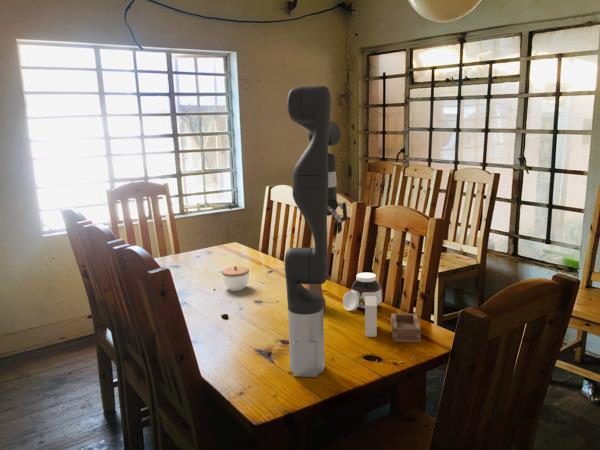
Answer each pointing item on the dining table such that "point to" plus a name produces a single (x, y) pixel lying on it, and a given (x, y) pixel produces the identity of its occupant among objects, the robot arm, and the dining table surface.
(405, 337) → the brown wooden box
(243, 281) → the lidded jar
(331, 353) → the dining table surface
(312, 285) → the wooden block
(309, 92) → the robot arm
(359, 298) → the spread jar
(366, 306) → the white rectangular block
